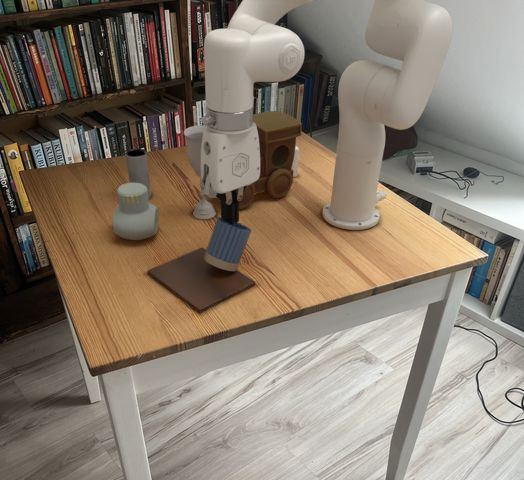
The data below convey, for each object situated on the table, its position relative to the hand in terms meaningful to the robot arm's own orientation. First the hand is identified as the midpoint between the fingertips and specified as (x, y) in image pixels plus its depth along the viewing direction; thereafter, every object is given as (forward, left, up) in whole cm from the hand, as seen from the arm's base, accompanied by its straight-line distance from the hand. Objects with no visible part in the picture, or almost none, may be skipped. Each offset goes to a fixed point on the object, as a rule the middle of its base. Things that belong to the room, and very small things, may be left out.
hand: (230, 220), depth 103 cm
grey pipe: (-3, -36, -10) cm, 38 cm away
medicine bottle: (-37, -25, -10) cm, 46 cm away
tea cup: (-2, 0, -6) cm, 6 cm away
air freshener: (+7, -22, -10) cm, 25 cm away
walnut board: (+7, 0, -10) cm, 12 cm away
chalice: (-9, -20, -10) cm, 24 cm away
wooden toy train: (-23, -20, -10) cm, 32 cm away
